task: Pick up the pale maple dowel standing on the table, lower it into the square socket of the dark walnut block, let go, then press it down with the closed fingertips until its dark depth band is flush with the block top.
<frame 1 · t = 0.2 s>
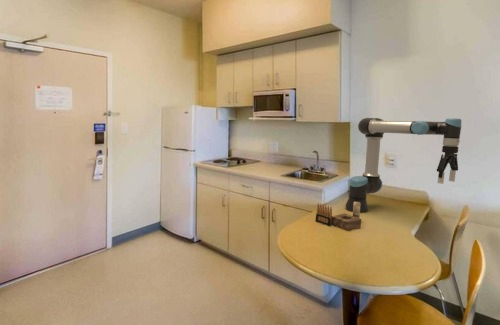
hand: (446, 182, 165), 28 cm above the table, fingers open, 13 cm apart
peg: (355, 221, 177), on the table
socket block: (345, 225, 169), on the table
ammunition clip: (323, 223, 172), on the table
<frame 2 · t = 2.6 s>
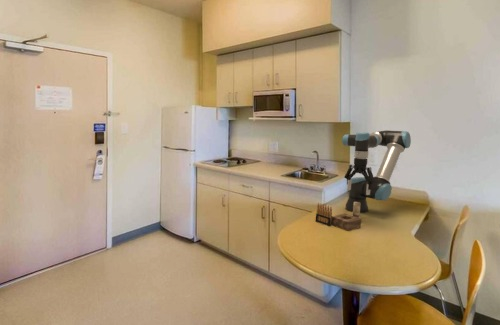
hand: (358, 192, 175), 19 cm above the table, fingers open, 13 cm apart
nothing on the table moved.
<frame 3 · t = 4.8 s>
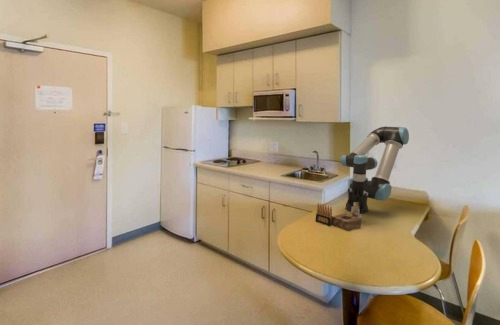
hand: (356, 217, 177), 3 cm above the table, fingers closed on peg, 4 cm apart
peg: (355, 221, 177), on the table, touching gripper
everything else where it was.
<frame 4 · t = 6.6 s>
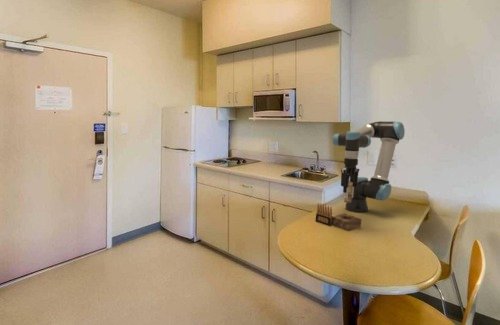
hand: (348, 197, 167), 17 cm above the table, fingers closed on peg, 4 cm apart
peg: (347, 201, 167), point 15 cm above the table, touching gripper
everything else where it was.
when the fingers open (7 cm above the table, at t = 8.8 s): peg drops 2 cm, resting on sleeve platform.
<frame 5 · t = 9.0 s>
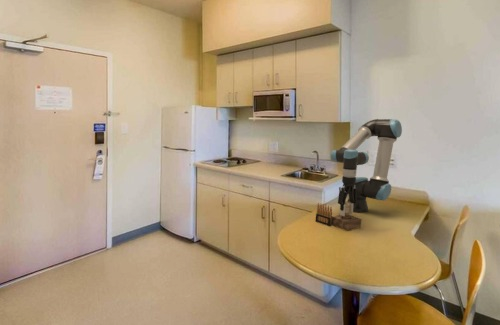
hand: (346, 214, 168), 7 cm above the table, fingers open, 7 cm apart
peg: (346, 221, 169), point 2 cm above the table, touching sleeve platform
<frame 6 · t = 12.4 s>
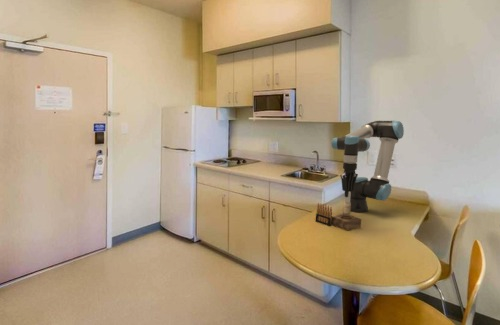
hand: (347, 202, 167), 14 cm above the table, fingers closed
peg: (345, 222, 169), point 2 cm above the table, touching gripper, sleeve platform
everything else where it was.
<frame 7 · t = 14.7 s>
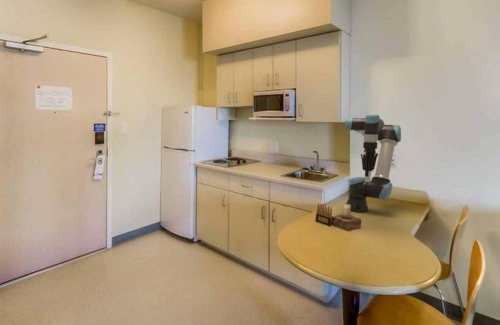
hand: (367, 181, 168), 27 cm above the table, fingers closed
peg: (345, 224, 169), point 1 cm above the table, touching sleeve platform
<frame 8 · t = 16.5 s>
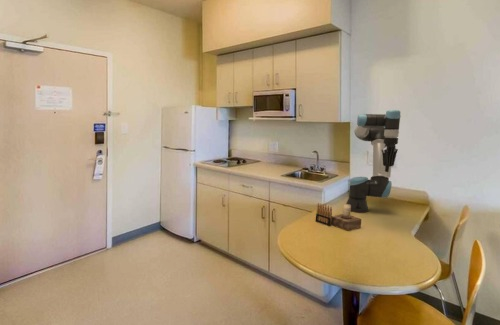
hand: (387, 177, 169), 29 cm above the table, fingers closed
nothing on the table moved.
at the end: peg 0.0 cm off-centre on the socket block, point 0.8 cm above the socket block's base; peg tilted 1°; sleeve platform slide at 2.2 cm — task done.
